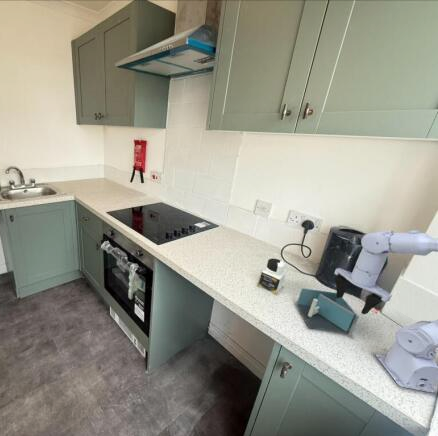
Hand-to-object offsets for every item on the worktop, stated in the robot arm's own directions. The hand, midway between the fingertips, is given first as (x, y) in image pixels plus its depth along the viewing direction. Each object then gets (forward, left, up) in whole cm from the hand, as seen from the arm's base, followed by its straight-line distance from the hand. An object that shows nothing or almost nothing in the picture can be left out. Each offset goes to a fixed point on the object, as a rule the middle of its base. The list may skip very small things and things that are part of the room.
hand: (351, 304), depth 78 cm
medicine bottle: (+18, +18, -10) cm, 27 cm away
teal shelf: (0, +5, -8) cm, 10 cm away
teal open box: (+2, +5, -9) cm, 11 cm away
